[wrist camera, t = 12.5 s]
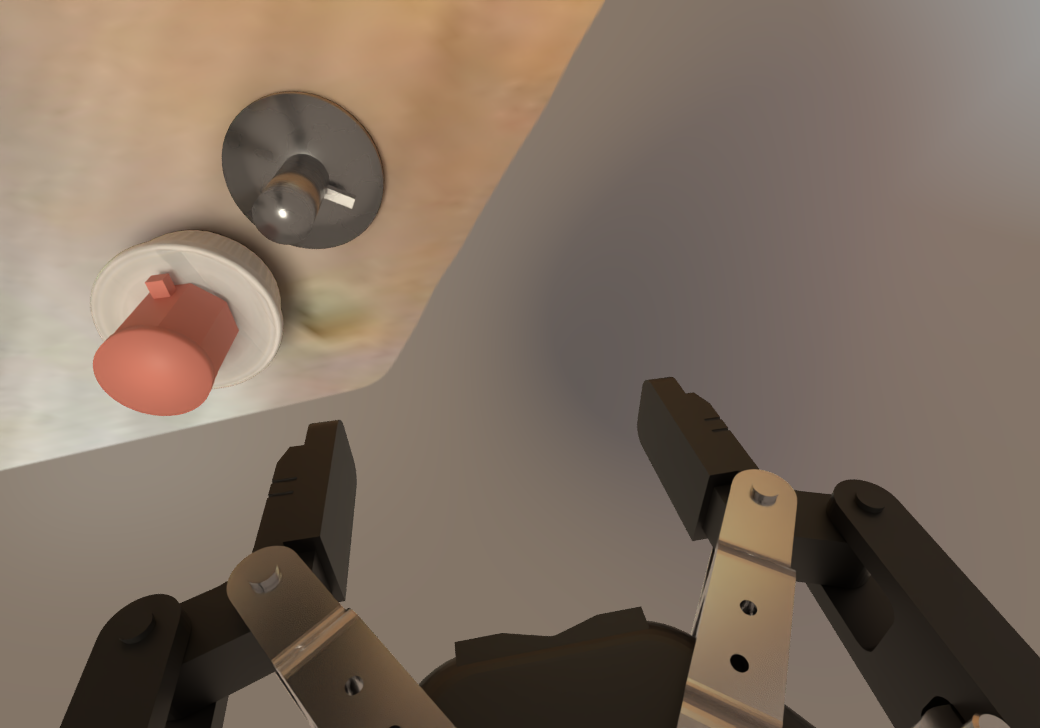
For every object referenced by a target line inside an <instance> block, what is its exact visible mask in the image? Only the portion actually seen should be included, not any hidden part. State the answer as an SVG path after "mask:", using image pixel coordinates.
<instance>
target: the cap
mask: <svg viewBox="0 0 1040 728" xmlns="http://www.w3.org/2000/svg"><path fill="white" fill-rule="evenodd" d="M145 284H146V286H147V288H148V290H149V294H148V295H147V296H146V297H145V298H144V299H143V300H142V302H141V303H140V304H139V305H138V306H137V307H136V308H135V310H134V311H133V312H132V313H131V314H130V315H129V316H128V318H127V319H126V320H125V321H124V322H123V323H122V324H121V325H120V327H119V328H118V329H117V330H116V331H115V333H113V334H112V335H110V336H109V337H108V338H107V339H106V340H105V342H104V343H103V344H102V345H101V346H100V347H99V349H98V350H97V352H96V354H95V356H94V360H93V370H94V374H95V377H96V379H97V381H98V383H99V384H100V386H101V387H102V388H103V390H104V391H105V392H106V393H107V394H108V395H109V396H111V397H112V398H113V399H114V400H116V401H117V402H119V403H121V404H122V405H124V406H126V407H128V408H131V409H133V410H136V411H139V412H142V413H146V414H151V415H159V416H172V415H179V414H184V413H187V412H189V411H192V410H194V409H195V408H197V407H199V406H200V405H201V404H202V403H203V402H204V401H205V400H206V399H207V397H208V395H209V393H210V391H211V389H212V387H213V384H214V381H215V378H216V376H217V374H218V371H219V369H220V367H221V365H222V363H223V361H224V359H225V357H226V355H227V353H228V351H229V349H230V347H231V345H232V343H233V341H234V339H235V337H236V335H237V333H238V331H239V329H238V327H237V325H236V323H235V320H234V318H233V316H232V313H231V311H230V309H229V307H228V304H227V302H226V301H224V300H222V299H220V298H218V297H217V296H215V295H213V294H211V293H209V292H207V291H205V290H203V289H201V288H199V287H197V286H195V285H193V284H191V283H188V284H180V285H174V283H173V281H172V279H171V277H170V275H169V273H167V274H159V275H151V276H150V277H149V278H148V280H147V281H146V282H145Z"/></svg>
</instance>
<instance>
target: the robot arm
mask: <svg viewBox="0 0 1040 728" xmlns="http://www.w3.org/2000/svg"><path fill="white" fill-rule="evenodd" d="M637 430H638V436H639V439H640V442H641V445H642V447H643V449H644V451H645V452H646V454H647V456H648V458H649V460H650V462H651V464H652V466H653V468H654V469H655V471H656V473H657V475H658V477H659V479H660V481H661V483H662V485H663V486H664V488H665V490H666V492H667V494H668V496H669V498H670V500H671V502H672V504H673V505H674V507H675V509H676V511H677V513H678V515H679V517H680V519H681V520H682V522H683V524H684V526H685V528H686V530H687V532H688V534H689V536H690V537H691V539H692V541H695V540H701V539H706V538H708V539H709V541H710V543H711V544H712V546H713V548H712V551H711V554H710V559H709V562H708V566H707V571H706V574H705V579H704V583H703V587H702V591H701V595H700V599H699V603H698V607H697V611H696V615H695V619H694V623H693V626H692V630H691V634H688V633H686V632H684V631H682V630H679V629H677V628H675V627H672V626H669V625H666V624H662V623H657V622H652V621H646V618H645V616H644V613H643V610H642V608H641V607H636V608H631V609H625V610H620V611H615V612H610V613H605V614H599V615H596V616H594V617H592V618H590V619H588V620H586V621H584V622H582V623H580V624H578V625H576V626H574V627H572V628H570V629H568V630H566V631H564V632H562V633H559V634H558V635H555V636H536V635H521V634H507V633H500V634H495V635H490V636H484V637H479V638H474V639H469V640H464V641H458V642H455V653H456V657H455V658H453V659H451V660H449V661H447V662H445V663H444V664H442V665H441V666H439V667H438V668H436V669H435V670H434V671H433V672H431V673H430V674H429V675H428V676H427V677H425V679H423V680H422V681H421V683H420V684H419V685H418V683H417V682H416V681H415V680H414V679H413V678H412V677H411V675H410V674H409V673H408V672H407V671H406V670H405V669H404V667H403V666H402V665H401V664H400V663H399V662H398V661H397V660H396V658H395V657H394V656H393V655H392V654H391V653H390V651H389V650H388V649H387V648H386V647H385V646H384V645H383V643H382V642H381V641H380V640H379V639H378V638H377V637H376V635H375V634H374V633H373V632H372V631H371V630H370V629H369V627H368V626H367V625H366V624H365V623H364V622H363V620H362V619H361V618H360V617H359V616H358V615H357V614H356V613H355V612H354V611H353V610H352V609H350V608H348V609H347V610H346V609H344V608H343V607H342V606H341V605H340V603H339V602H341V601H345V596H346V587H347V577H348V567H349V556H350V545H351V537H352V526H353V516H354V506H355V496H356V485H357V479H356V469H355V463H354V460H353V456H352V453H351V449H350V446H349V442H348V439H347V435H346V432H345V429H344V426H343V423H342V421H341V420H335V421H327V422H319V423H312V424H310V425H309V427H308V431H307V435H306V440H305V444H304V445H301V446H294V447H289V449H288V450H287V451H286V452H285V454H284V455H283V456H282V457H281V459H280V460H279V461H278V462H277V465H276V468H275V472H274V476H273V479H272V482H273V483H272V484H271V487H270V490H269V494H268V495H269V498H267V501H266V505H265V509H264V512H263V516H262V520H261V523H260V527H259V530H258V534H257V538H256V541H255V545H254V548H253V551H252V554H250V555H248V556H247V557H246V558H244V559H243V560H242V561H241V562H240V563H239V564H238V565H237V566H236V567H235V569H234V570H233V571H232V573H231V575H230V577H229V579H228V581H227V582H225V583H223V584H222V585H220V586H218V587H216V588H214V589H212V590H209V591H207V592H205V593H203V594H200V595H198V596H196V597H193V598H191V599H189V600H187V601H184V602H182V603H180V604H179V603H178V601H177V600H176V599H175V598H174V597H172V596H169V595H165V594H155V595H149V596H146V597H143V598H140V599H138V600H136V601H134V602H132V603H130V604H128V605H127V606H125V607H124V608H122V609H121V610H120V611H118V612H117V613H116V614H115V615H114V616H113V617H112V618H111V619H110V620H109V621H108V622H107V624H105V626H104V627H103V629H102V630H101V632H100V634H99V636H98V638H97V640H96V642H95V645H94V647H93V649H92V652H91V654H90V657H89V659H88V661H87V664H86V666H85V669H84V671H83V673H82V676H81V678H80V681H79V683H78V685H77V688H76V690H75V693H74V695H73V697H72V700H71V702H70V704H69V707H68V709H67V712H66V714H65V716H64V719H63V721H62V724H61V726H60V728H222V727H223V721H224V716H225V711H226V706H227V701H228V696H229V695H230V694H232V693H234V692H236V691H238V690H240V689H242V688H244V687H245V686H248V685H250V684H251V683H253V682H255V681H257V680H259V679H261V678H263V677H265V676H267V675H269V674H271V673H273V672H275V673H276V675H277V677H278V678H279V680H280V681H281V683H282V684H283V685H284V687H285V689H286V690H287V691H288V693H289V695H290V696H291V697H292V699H293V701H294V702H295V703H296V705H297V706H298V708H299V709H300V711H301V712H302V714H303V715H304V717H305V718H306V720H307V721H308V723H309V724H310V726H311V727H312V728H816V727H814V726H813V725H811V724H810V723H809V722H808V721H806V720H805V719H804V718H802V717H801V716H800V715H798V714H797V713H796V712H794V711H793V710H792V709H790V708H789V707H788V706H786V705H785V704H784V703H785V692H786V682H787V670H788V660H789V648H790V637H791V627H792V616H793V605H794V593H795V583H796V581H798V582H805V583H806V584H807V586H808V587H809V589H810V591H811V592H812V594H813V596H814V597H815V599H816V601H817V602H818V604H819V605H820V607H821V609H822V610H823V612H824V614H825V615H826V617H827V618H828V620H829V622H830V623H831V625H832V627H833V628H834V630H835V631H836V633H837V635H838V636H839V638H840V640H841V641H842V643H843V644H844V646H845V648H846V649H847V651H848V653H849V654H850V656H851V657H852V659H853V661H854V662H855V664H856V666H857V667H858V669H859V670H860V672H861V674H862V675H863V677H864V679H865V680H866V682H867V683H868V685H869V687H870V688H871V690H872V692H873V693H874V695H875V696H876V698H877V700H878V701H879V703H880V705H881V706H882V707H883V709H884V711H885V713H886V714H887V716H888V718H889V719H890V721H891V722H892V724H893V726H894V727H895V728H1040V658H1039V656H1038V655H1037V654H1036V653H1035V652H1034V651H1033V650H1032V648H1031V647H1030V646H1029V645H1028V644H1027V643H1026V642H1025V641H1024V640H1023V638H1021V636H1020V635H1019V634H1018V633H1017V632H1016V631H1015V630H1014V628H1013V627H1012V626H1011V625H1010V624H1009V623H1008V622H1007V621H1006V620H1005V618H1004V617H1003V616H1002V615H1001V614H1000V613H999V612H998V611H997V610H996V609H995V607H994V606H993V605H992V604H991V603H990V602H989V601H988V600H987V598H986V597H985V596H984V595H983V594H982V593H981V592H980V591H979V590H978V588H977V587H976V586H975V585H974V584H973V583H972V582H971V581H970V580H969V579H968V577H967V576H966V575H965V574H964V573H963V572H962V571H961V570H960V568H959V567H958V566H957V565H956V564H955V563H954V562H953V561H952V560H951V558H949V556H948V555H947V554H946V553H945V552H944V551H943V550H942V548H941V547H940V546H939V545H938V544H937V543H936V542H935V541H934V540H933V538H932V537H931V536H930V535H929V534H928V533H927V532H926V531H925V530H924V529H923V527H922V526H921V525H920V524H919V523H918V522H917V521H916V520H915V518H914V517H913V516H912V515H911V514H910V513H909V512H908V511H907V510H906V508H905V507H904V506H903V505H902V504H901V503H900V502H899V501H898V500H897V499H896V498H895V497H894V496H893V495H892V494H891V493H889V492H888V491H887V490H885V489H883V488H882V487H880V486H878V485H875V484H873V483H870V482H866V481H862V480H845V481H842V482H840V483H839V484H837V486H836V487H835V489H834V491H833V493H832V495H831V494H822V493H812V492H803V491H797V490H793V488H792V487H791V486H790V485H789V484H788V483H787V482H786V481H785V480H784V479H782V478H781V477H779V476H777V475H775V474H773V473H770V472H768V471H764V470H759V468H758V467H757V466H756V464H755V463H754V462H753V460H752V459H751V458H750V456H749V455H748V454H747V452H746V451H745V450H744V448H743V447H742V446H741V444H740V443H739V442H738V440H737V439H736V438H735V436H734V435H733V434H732V432H731V431H730V430H728V427H727V426H726V424H725V423H724V422H723V420H720V417H719V415H718V414H717V412H716V411H715V410H714V409H713V407H712V406H711V404H710V403H708V402H707V401H706V400H704V399H702V398H701V397H699V396H698V395H697V394H695V393H687V394H686V393H685V392H684V391H683V389H682V388H681V386H680V385H679V384H678V382H677V381H676V379H675V378H673V377H667V378H659V379H651V380H645V381H644V383H643V386H642V392H641V400H640V407H639V414H638V422H637Z"/></svg>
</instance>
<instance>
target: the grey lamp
mask: <svg viewBox="0 0 1040 728" xmlns="http://www.w3.org/2000/svg"><path fill="white" fill-rule="evenodd" d="M222 168H223V174H224V178H225V181H226V184H227V187H228V189H229V191H230V194H231V196H232V198H233V199H234V201H235V203H236V204H237V206H238V207H239V208H240V210H241V211H242V212H243V214H244V215H245V216H246V217H247V218H248V219H249V220H250V221H251V222H252V223H253V224H254V225H256V227H257V229H258V230H259V231H260V232H261V233H262V234H263V235H264V236H265V237H266V238H268V239H269V240H271V241H273V242H276V243H279V244H286V245H288V244H289V245H293V246H296V247H302V248H308V249H325V248H331V247H336V246H339V245H342V244H345V243H347V242H349V241H351V240H353V239H354V238H356V237H357V236H359V235H360V234H361V233H362V232H363V231H365V230H366V229H367V227H368V226H369V225H370V224H371V223H372V221H373V219H374V218H375V216H376V214H377V212H378V210H379V207H380V204H381V200H382V194H383V186H384V175H383V167H382V163H381V159H380V156H379V153H378V151H377V148H376V146H375V144H374V142H373V140H372V139H371V137H370V135H369V134H368V133H367V131H366V130H365V128H364V127H363V126H362V125H361V124H360V123H359V122H358V120H357V119H355V118H354V117H353V116H352V115H351V114H350V113H349V112H347V111H346V110H345V109H343V108H342V107H340V106H339V105H337V104H335V103H333V102H332V101H330V100H328V99H325V98H323V97H320V96H317V95H313V94H309V93H304V92H296V91H293V92H279V93H274V94H270V95H267V96H264V97H262V98H260V99H258V100H256V101H254V102H253V103H251V104H250V105H249V106H247V107H246V108H245V109H243V110H242V111H241V112H240V113H239V114H238V115H237V116H236V117H235V119H234V120H233V122H232V123H231V125H230V127H229V129H228V131H227V133H226V136H225V139H224V143H223V149H222Z"/></svg>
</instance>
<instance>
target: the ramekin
mask: <svg viewBox="0 0 1040 728" xmlns="http://www.w3.org/2000/svg"><path fill="white" fill-rule="evenodd" d="M167 273H169V275H170V277H171V279H172V281H173V283H174V285H180V284H188V283H191V284H193V285H195V286H197V287H199V288H201V289H203V290H205V291H207V292H209V293H211V294H213V295H215V296H217V297H218V298H220V299H222V300H224V301H226V302H227V304H228V307H229V309H230V311H231V313H232V316H233V318H234V320H235V323H236V325H237V327H238V329H239V331H238V333H237V335H236V337H235V339H234V341H233V343H232V345H231V347H230V349H229V351H228V353H227V355H226V357H225V359H224V361H223V363H222V365H221V367H220V369H219V371H218V374H217V376H216V378H215V381H214V384H213V387H212V389H217V388H224V387H229V386H234V385H236V384H239V383H242V382H244V381H247V380H249V379H251V378H252V377H254V376H256V375H257V374H259V373H260V372H262V371H263V370H264V369H265V368H266V367H267V366H268V365H269V364H270V363H271V361H272V360H273V359H274V357H275V355H276V354H277V351H278V349H279V347H280V344H281V341H282V336H283V316H282V312H281V297H280V294H279V288H278V286H277V282H276V280H275V279H274V277H273V274H272V273H271V271H270V270H269V268H268V267H267V266H266V265H265V264H264V262H263V261H262V260H261V259H260V258H259V257H258V256H257V255H256V254H255V253H254V252H252V251H250V250H249V249H248V248H247V247H245V246H243V245H241V244H240V243H238V242H237V241H234V240H231V239H230V238H228V237H224V236H221V235H219V234H215V233H211V232H208V231H199V230H193V231H192V230H185V231H177V232H173V233H167V234H165V235H163V236H160V237H157V238H155V239H153V240H150V241H148V242H145V243H141V244H138V245H135V246H132V247H130V248H128V249H126V250H124V251H122V252H121V253H119V254H118V255H116V256H115V257H114V258H113V259H112V260H110V261H109V262H108V263H107V264H106V265H105V267H104V268H103V269H102V270H101V271H100V273H99V275H98V276H97V278H96V280H95V282H94V285H93V288H92V292H91V297H90V309H91V313H92V318H93V321H94V324H95V326H96V328H97V331H98V333H99V335H100V337H101V338H102V339H103V340H104V342H105V340H106V339H107V338H108V337H109V336H110V335H112V334H113V333H115V331H116V330H117V329H118V328H119V327H120V325H121V324H122V323H123V322H124V321H125V320H126V319H127V318H128V316H129V315H130V314H131V313H132V312H133V311H134V310H135V308H136V307H137V306H138V305H139V304H140V303H141V302H142V300H143V299H144V298H145V297H146V296H147V295H148V294H149V290H148V288H147V286H146V284H145V282H146V281H147V280H148V278H149V277H150V276H151V275H159V274H167Z"/></svg>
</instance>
